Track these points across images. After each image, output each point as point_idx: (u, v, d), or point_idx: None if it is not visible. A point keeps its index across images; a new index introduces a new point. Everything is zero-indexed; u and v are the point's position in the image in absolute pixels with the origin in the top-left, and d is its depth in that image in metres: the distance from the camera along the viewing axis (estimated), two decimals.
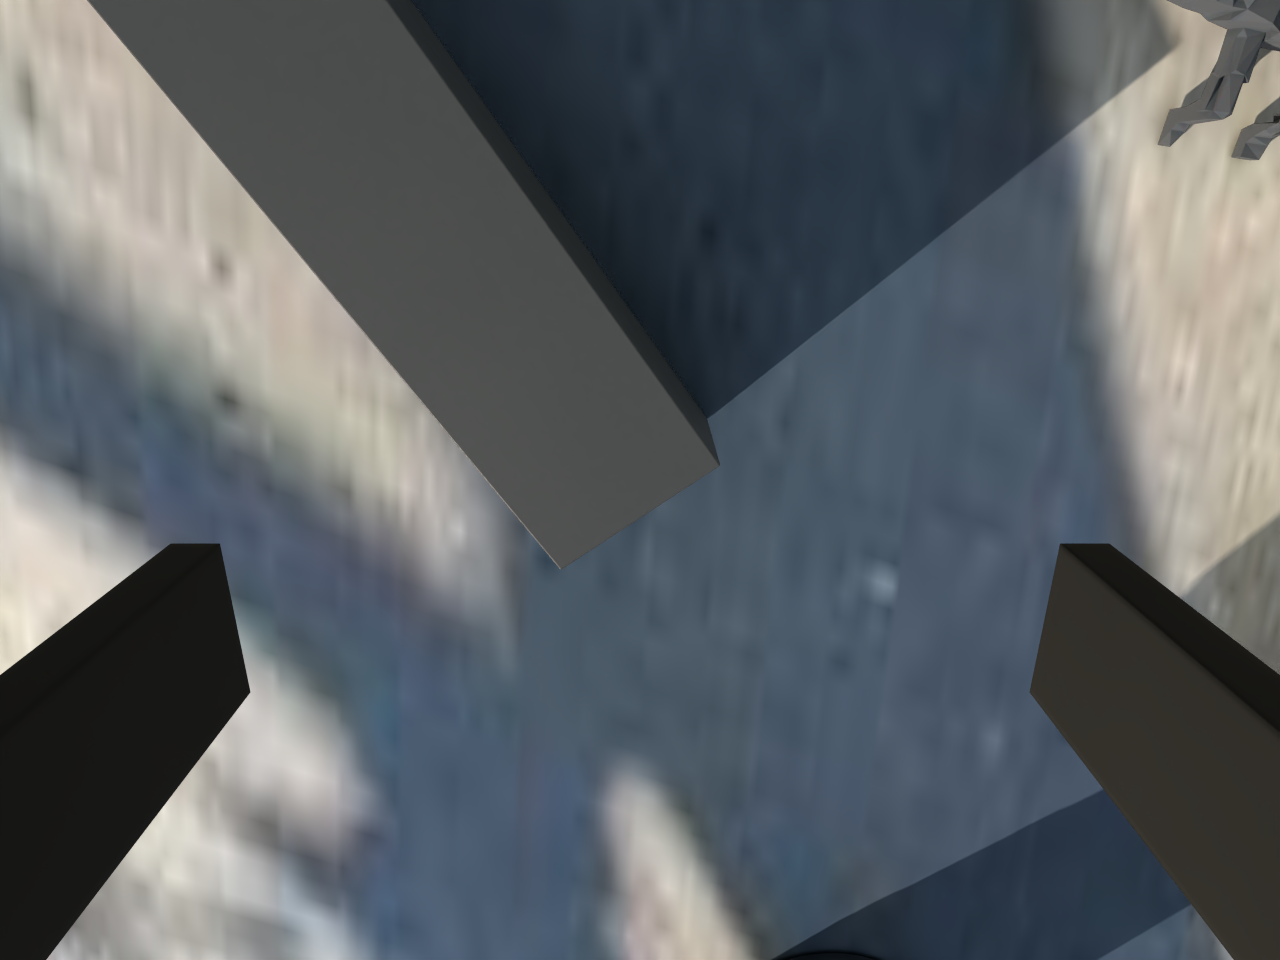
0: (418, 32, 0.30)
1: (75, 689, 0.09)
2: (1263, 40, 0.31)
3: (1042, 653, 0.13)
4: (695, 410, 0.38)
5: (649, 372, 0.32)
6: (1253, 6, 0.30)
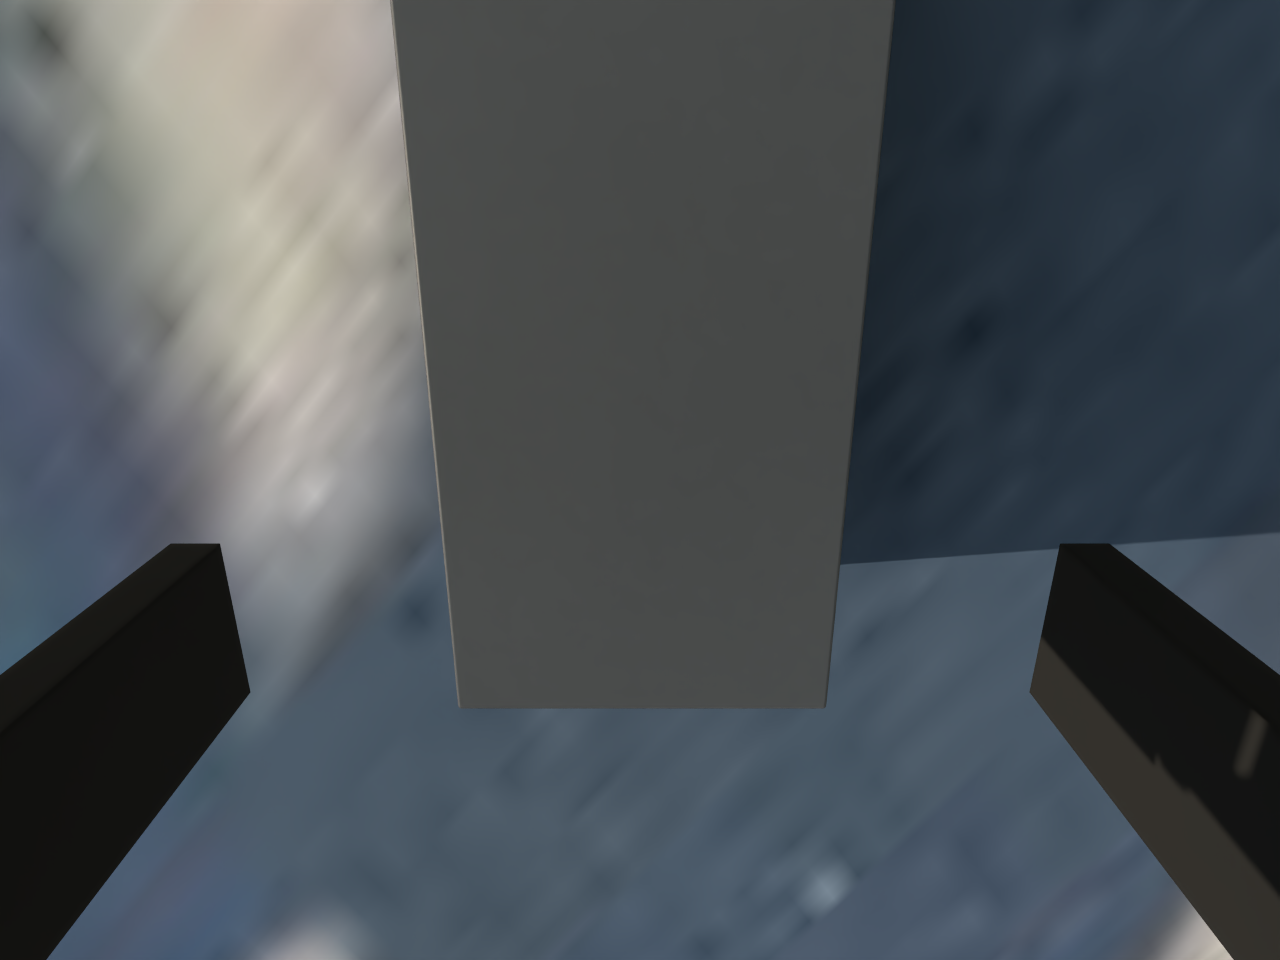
0: None
1: (75, 689, 0.09)
2: None
3: (1043, 653, 0.13)
4: None
5: (838, 508, 0.17)
6: None
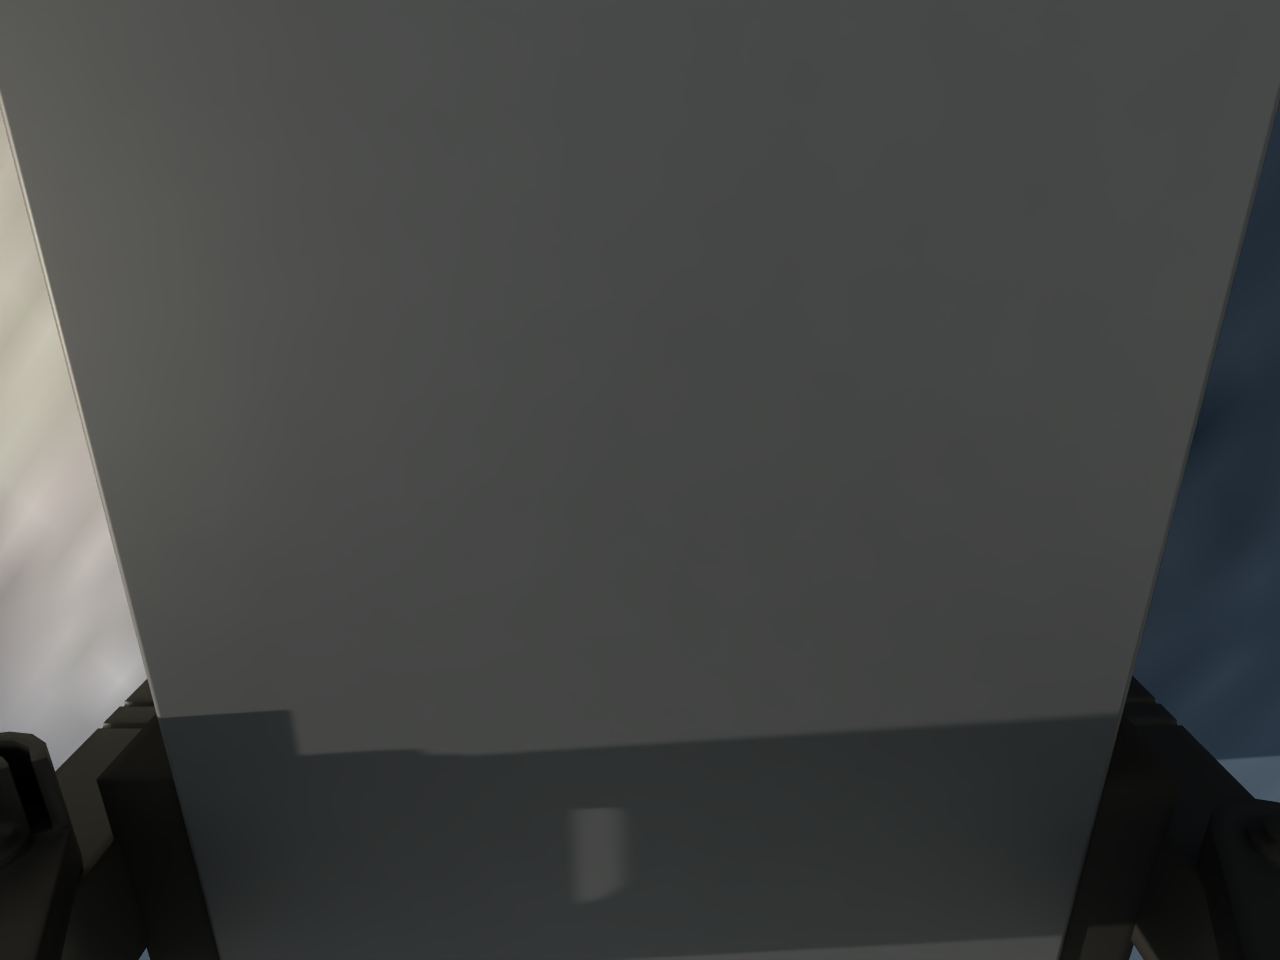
0: None
1: None
2: None
3: None
4: None
5: (1065, 888, 0.08)
6: None
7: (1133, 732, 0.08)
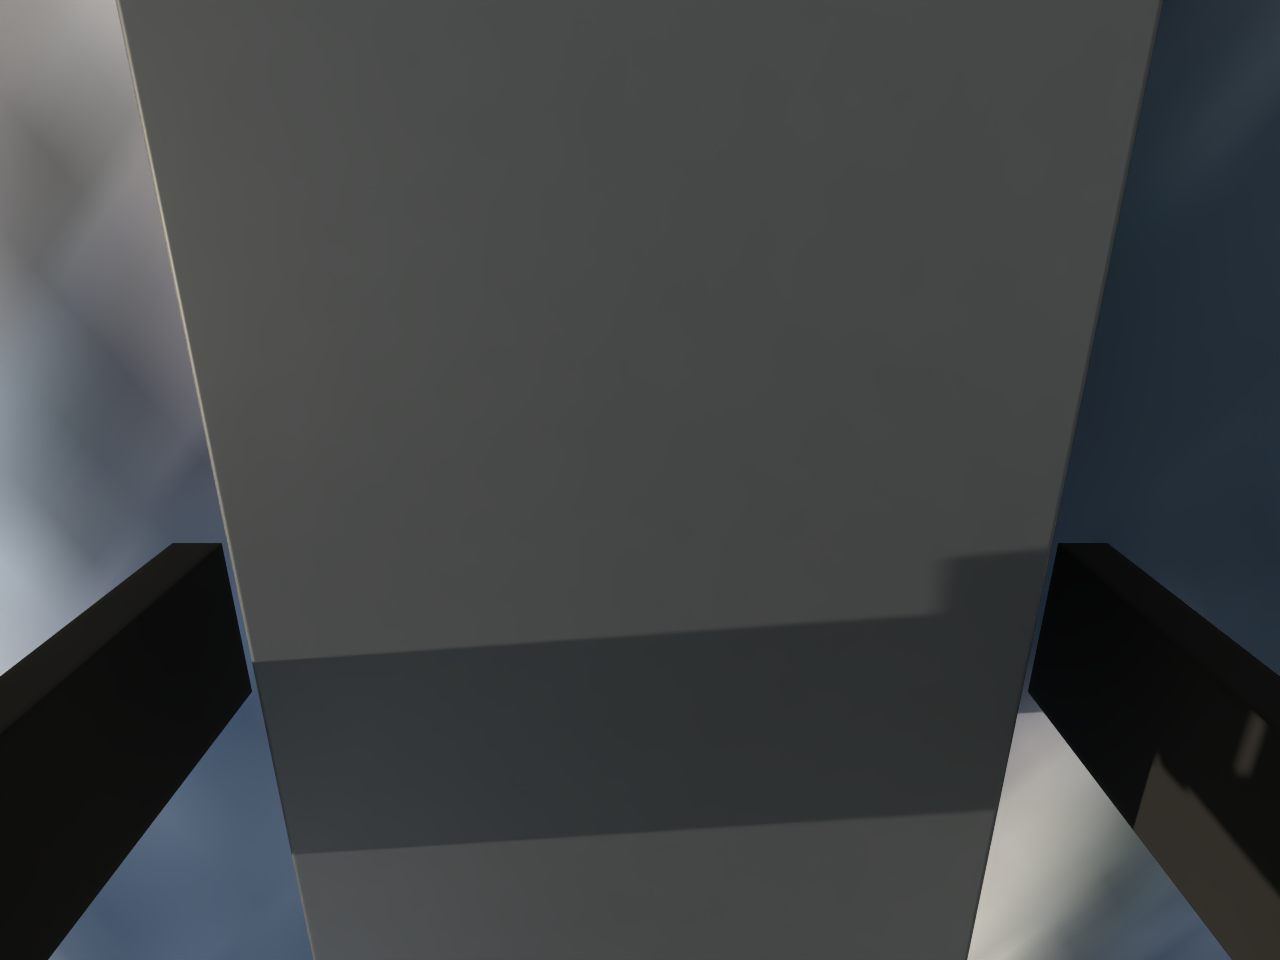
0: None
1: (77, 688, 0.09)
2: None
3: (1041, 652, 0.13)
4: None
5: (996, 765, 0.09)
6: None
7: None
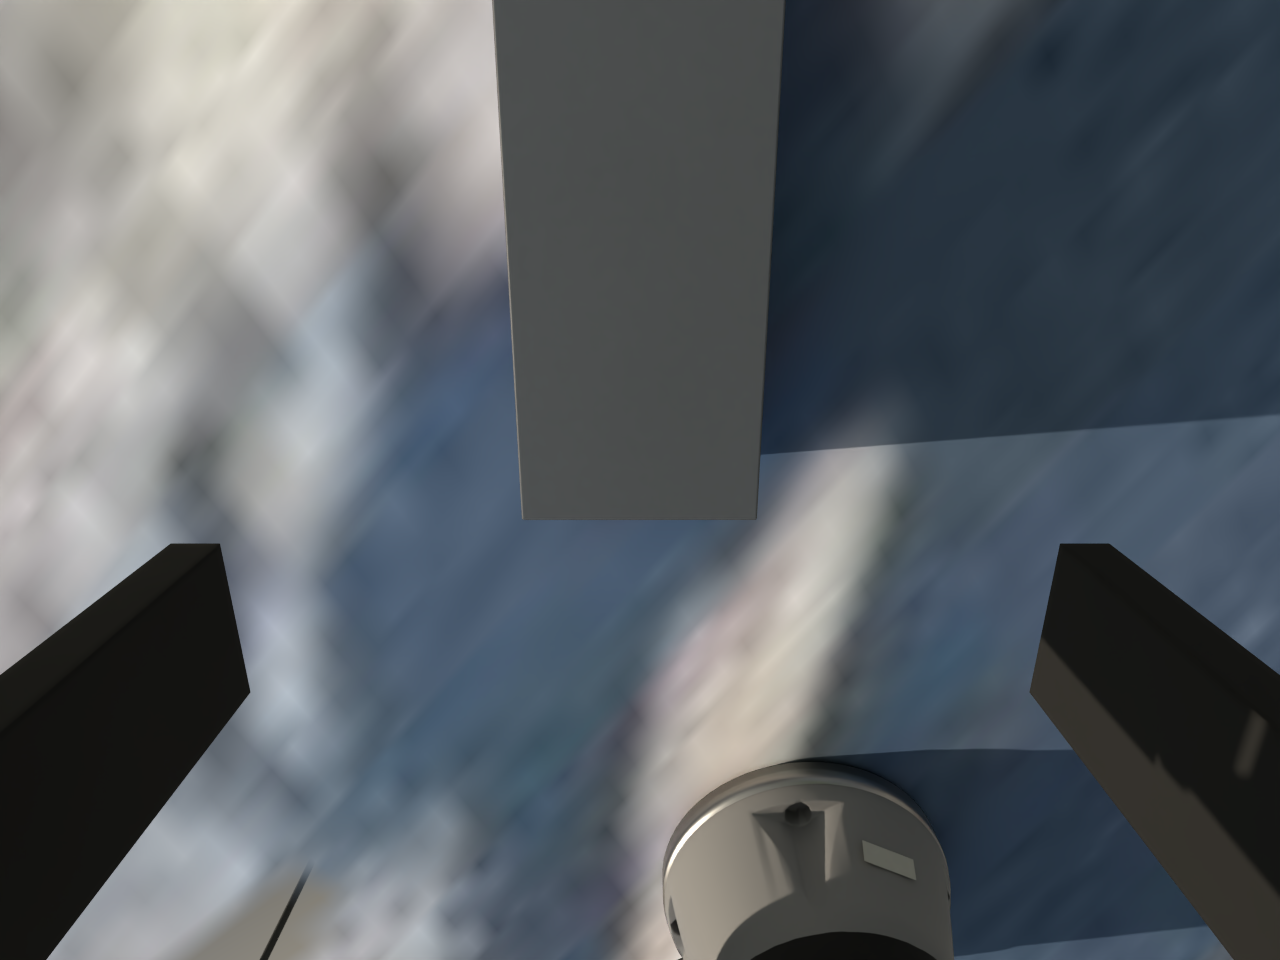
0: None
1: (75, 689, 0.09)
2: None
3: (1042, 653, 0.13)
4: None
5: (760, 384, 0.27)
6: None
7: None
